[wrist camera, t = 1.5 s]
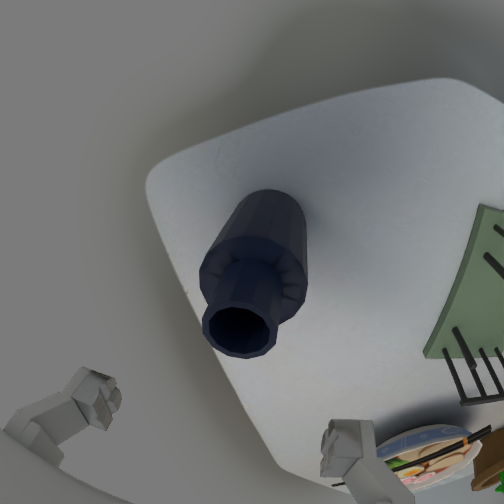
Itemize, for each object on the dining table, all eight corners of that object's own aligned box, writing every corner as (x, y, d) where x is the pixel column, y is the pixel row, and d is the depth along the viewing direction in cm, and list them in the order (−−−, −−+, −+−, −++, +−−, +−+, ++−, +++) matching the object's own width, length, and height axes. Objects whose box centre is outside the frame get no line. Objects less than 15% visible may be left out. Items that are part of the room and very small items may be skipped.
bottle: (235, 185, 25) (170, 264, 13) (309, 193, 24) (318, 284, 12) (232, 252, 28) (180, 363, 15) (300, 260, 27) (295, 383, 15)
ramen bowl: (364, 475, 46) (365, 507, 39) (319, 435, 39) (317, 480, 32) (477, 431, 37) (487, 464, 30) (474, 373, 30) (492, 417, 23)
